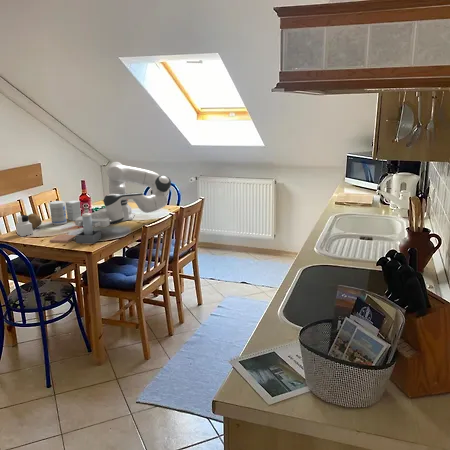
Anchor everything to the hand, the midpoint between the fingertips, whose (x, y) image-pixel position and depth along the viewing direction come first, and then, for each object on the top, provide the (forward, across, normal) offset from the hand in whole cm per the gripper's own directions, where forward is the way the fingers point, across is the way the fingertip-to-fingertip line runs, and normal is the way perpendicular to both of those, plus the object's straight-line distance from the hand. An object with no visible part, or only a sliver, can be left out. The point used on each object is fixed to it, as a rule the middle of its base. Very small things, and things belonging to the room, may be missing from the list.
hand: (87, 225), depth 254 cm
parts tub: (-1, 0, -10) cm, 10 cm away
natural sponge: (-21, +47, -10) cm, 52 cm away
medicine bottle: (-8, +45, -10) cm, 47 cm away
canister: (-1, 0, -10) cm, 10 cm away
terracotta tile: (-1, +16, -10) cm, 19 cm away
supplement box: (-47, +32, -10) cm, 58 cm away
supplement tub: (-35, +37, -10) cm, 52 cm away
